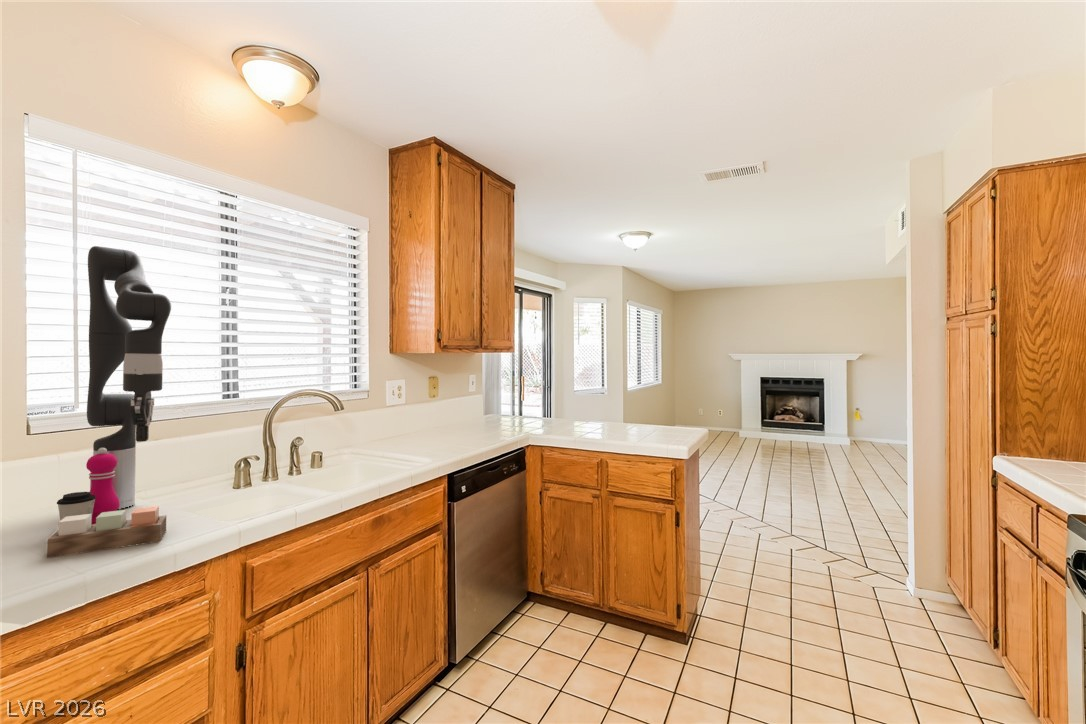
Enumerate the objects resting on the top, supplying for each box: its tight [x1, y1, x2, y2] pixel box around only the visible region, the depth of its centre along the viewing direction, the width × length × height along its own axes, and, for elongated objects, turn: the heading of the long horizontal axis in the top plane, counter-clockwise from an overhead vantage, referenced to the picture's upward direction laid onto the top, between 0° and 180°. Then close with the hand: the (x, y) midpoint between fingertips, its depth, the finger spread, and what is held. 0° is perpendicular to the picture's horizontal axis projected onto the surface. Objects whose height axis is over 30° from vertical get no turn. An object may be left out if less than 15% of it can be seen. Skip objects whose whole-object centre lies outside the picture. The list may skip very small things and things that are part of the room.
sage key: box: [96, 509, 127, 531], centre depth 111 cm, size 4×4×4 cm
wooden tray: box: [46, 514, 167, 558], centre depth 111 cm, size 19×8×4 cm, turn 121°
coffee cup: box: [56, 491, 96, 522], centre depth 116 cm, size 7×7×10 cm
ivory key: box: [58, 514, 92, 536], centre depth 108 cm, size 4×4×4 cm
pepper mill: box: [85, 448, 120, 524], centre depth 125 cm, size 7×7×20 cm
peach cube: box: [130, 505, 160, 526], centre depth 114 cm, size 4×4×4 cm
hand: (142, 441), depth 118 cm, fingers closed
